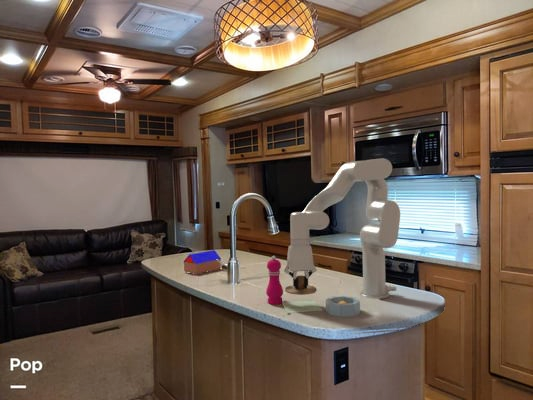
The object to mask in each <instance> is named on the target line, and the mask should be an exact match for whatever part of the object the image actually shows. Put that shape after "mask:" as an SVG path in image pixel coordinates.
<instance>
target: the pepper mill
mask: <svg viewBox="0 0 533 400" xmlns="http://www.w3.org/2000/svg"><path fill="white" fill-rule="evenodd" d="M281 267H282V263H281V262H280V260H279V259H277V257H276V256H275V255H273V256H271V259H270V260H268V261H267V263H266V268H267V270H268V274H267V275H268V276H269V281H268V285H267V287H266V290H265V292H266V296H267V297H268V298H267V304H269V305H280V304H282V302H283V297H282V296H283V295H284V289H283V286H282V285H281V284H282V283H281V281H280V275H281V271H280V270H281V269H282V268H281Z"/></svg>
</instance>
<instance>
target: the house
mask: <svg viewBox="0 0 533 400" xmlns="http://www.w3.org/2000/svg"><path fill="white" fill-rule="evenodd" d="M216 259H218V260H219V261H220V262H221V260H222V257H221V256H220V255H219V254H218V252H216V250H215V249H214V250H208V251H202V252H201V251H200V252H198V253H195V252H194V253H191V254H188V255H187V256H186V257H185V259H184V260H183V272H184V271H185V272H190V273H194V274H198V273H202V274H204V273H203V272H207V271H211V272H213V271H212V270H215V271H217V270H216V269H220V268H221V269H222V267H221V264H222V263H221V264H220V263H219V262H218V261H217V260H216ZM221 269H220V270H221ZM207 273H208V272H207ZM194 274H193V275H194ZM198 275H199V274H198Z"/></svg>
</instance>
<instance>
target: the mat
mask: <svg viewBox="0 0 533 400" xmlns="http://www.w3.org/2000/svg"><path fill="white" fill-rule="evenodd" d="M281 304H282V306H283V308H284V310H285V312H286V314H287V315H292V313H305V312H322V311H324V310H323V309H322V307H321V306H320V305H319V304H318V303H317V301H315V300H302V301H301V300H300V301H282V303H281Z"/></svg>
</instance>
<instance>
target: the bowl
mask: <svg viewBox="0 0 533 400" xmlns="http://www.w3.org/2000/svg"><path fill="white" fill-rule="evenodd" d="M341 301H344V302H346V303H347V304H338V303H339V302H341ZM325 312H326V313H327V314H328V315H329V316H333V317H338V318H349V317H350V318H351V317H356V316H358V315H359V314H361V301H360V300H359V299H358V298H357V297H353V296H349V295H348V296H347V295H337V296H336V295H335V296H333V295H332V296H330V297H327V298H326V299H325Z"/></svg>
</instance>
